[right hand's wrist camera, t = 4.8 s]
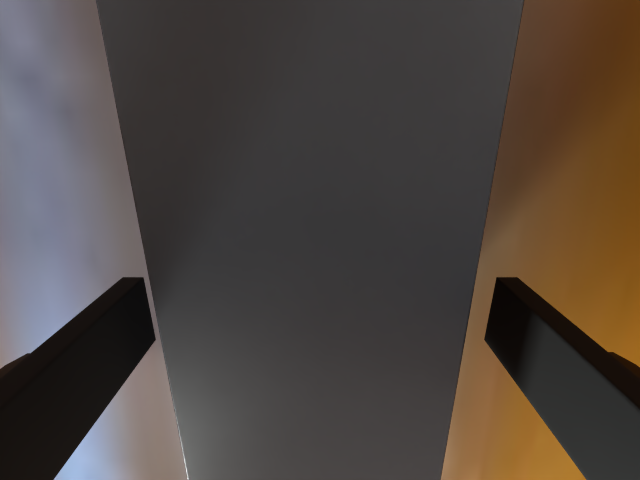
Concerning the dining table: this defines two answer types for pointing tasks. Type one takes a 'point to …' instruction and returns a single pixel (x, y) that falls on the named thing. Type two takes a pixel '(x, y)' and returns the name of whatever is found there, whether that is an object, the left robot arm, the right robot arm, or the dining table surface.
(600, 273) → the dining table surface
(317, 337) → the long gray bar
